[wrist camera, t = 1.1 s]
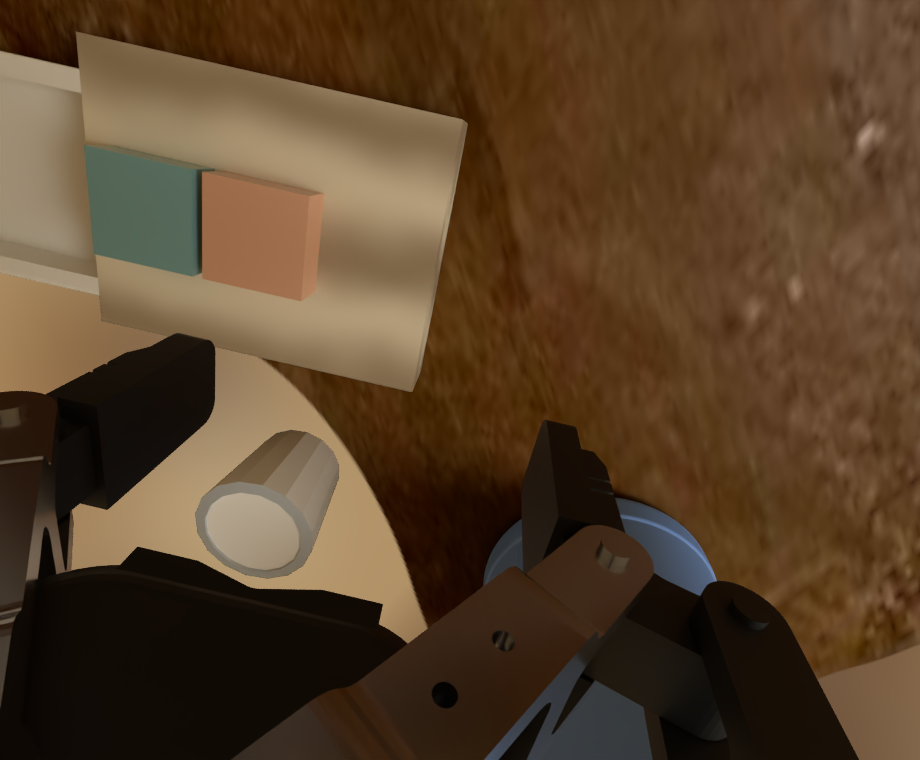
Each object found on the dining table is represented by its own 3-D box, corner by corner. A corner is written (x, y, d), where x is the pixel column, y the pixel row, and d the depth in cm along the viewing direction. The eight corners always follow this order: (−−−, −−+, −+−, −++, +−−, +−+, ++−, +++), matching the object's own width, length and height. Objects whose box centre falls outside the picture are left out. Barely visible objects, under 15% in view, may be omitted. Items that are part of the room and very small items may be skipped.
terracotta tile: (224, 170, 25) (201, 171, 23) (323, 193, 25) (309, 196, 23) (223, 270, 27) (202, 278, 25) (315, 291, 27) (300, 301, 25)
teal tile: (115, 145, 25) (83, 144, 23) (214, 168, 25) (191, 169, 23) (122, 247, 27) (93, 253, 25) (214, 268, 27) (192, 276, 25)
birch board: (122, 44, 26) (75, 31, 23) (467, 123, 26) (462, 119, 23) (137, 307, 32) (101, 320, 29) (420, 371, 32) (411, 392, 29)
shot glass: (312, 406, 33) (265, 465, 27) (366, 487, 35) (334, 559, 29) (231, 444, 35) (169, 507, 29) (287, 518, 37) (241, 593, 31)
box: (-101, 27, 26) (-172, 12, 24) (123, 78, 26) (79, 69, 24) (-57, 239, 31) (-112, 247, 28) (135, 283, 31) (99, 295, 28)
